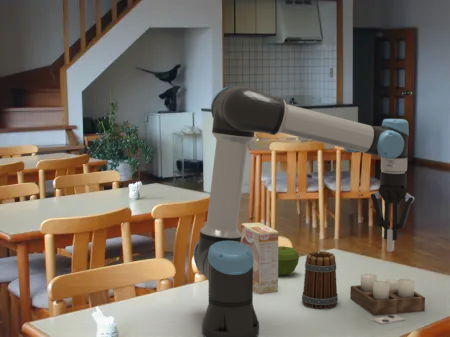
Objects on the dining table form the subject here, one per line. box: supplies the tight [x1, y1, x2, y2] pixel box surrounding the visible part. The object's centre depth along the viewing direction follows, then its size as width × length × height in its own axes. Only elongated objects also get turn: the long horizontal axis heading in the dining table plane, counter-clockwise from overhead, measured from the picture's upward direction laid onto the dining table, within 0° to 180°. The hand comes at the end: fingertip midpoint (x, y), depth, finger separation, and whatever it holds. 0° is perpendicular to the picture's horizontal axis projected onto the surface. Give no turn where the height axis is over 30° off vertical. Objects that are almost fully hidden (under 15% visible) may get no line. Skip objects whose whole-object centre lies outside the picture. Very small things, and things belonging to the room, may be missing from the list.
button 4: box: [397, 278, 415, 298], centre depth 215 cm, size 5×5×5 cm
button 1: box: [360, 273, 378, 292], centre depth 220 cm, size 5×5×5 cm
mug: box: [301, 248, 339, 310], centre depth 221 cm, size 16×11×15 cm
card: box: [371, 314, 406, 326], centre depth 205 cm, size 8×4×1 cm, turn 115°
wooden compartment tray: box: [349, 284, 426, 317], centre depth 218 cm, size 16×16×4 cm
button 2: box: [373, 280, 389, 301], centre depth 213 cm, size 5×5×5 cm
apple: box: [278, 245, 300, 277], centre depth 250 cm, size 11×10×10 cm
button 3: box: [384, 278, 399, 290], centre depth 223 cm, size 5×5×5 cm
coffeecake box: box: [240, 221, 279, 295], centre depth 235 cm, size 15×7×20 cm, turn 21°
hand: (390, 250), depth 219 cm, fingers closed
